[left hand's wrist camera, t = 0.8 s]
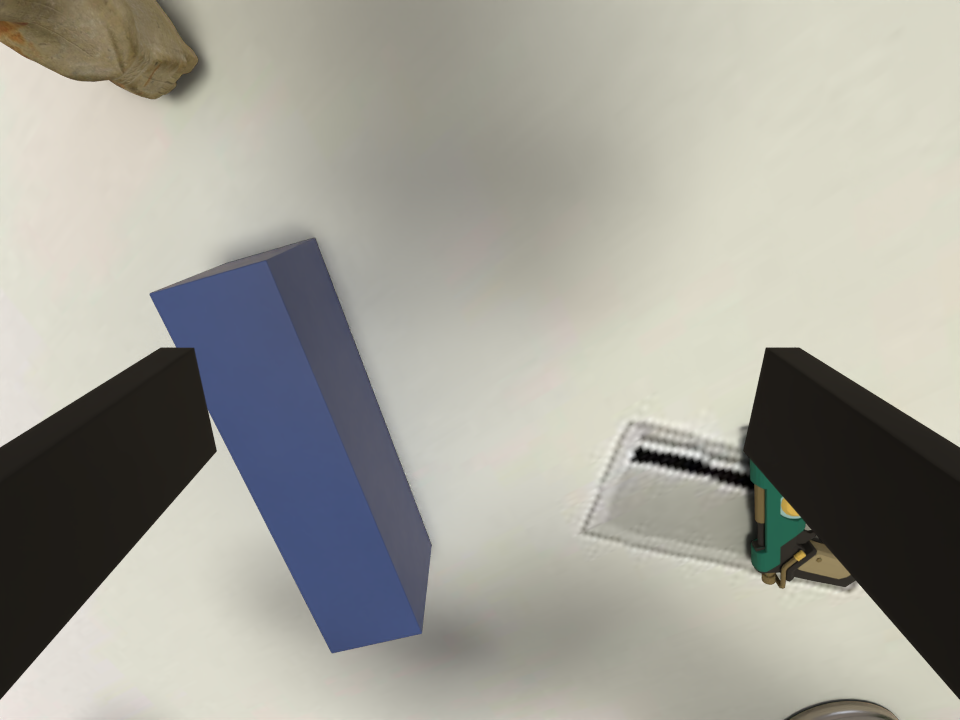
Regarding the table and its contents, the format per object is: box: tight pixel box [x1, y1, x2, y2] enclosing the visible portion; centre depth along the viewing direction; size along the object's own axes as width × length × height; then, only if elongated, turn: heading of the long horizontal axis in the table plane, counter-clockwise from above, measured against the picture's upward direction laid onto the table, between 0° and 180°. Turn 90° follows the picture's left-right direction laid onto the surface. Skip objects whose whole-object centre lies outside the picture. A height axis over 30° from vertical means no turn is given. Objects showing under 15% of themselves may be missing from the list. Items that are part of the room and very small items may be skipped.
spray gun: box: [750, 460, 856, 589], centre depth 44 cm, size 4×17×15 cm
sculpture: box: [0, 0, 198, 99], centre depth 26 cm, size 6×7×15 cm
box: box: [150, 238, 432, 653], centre depth 38 cm, size 28×7×10 cm, turn 15°
